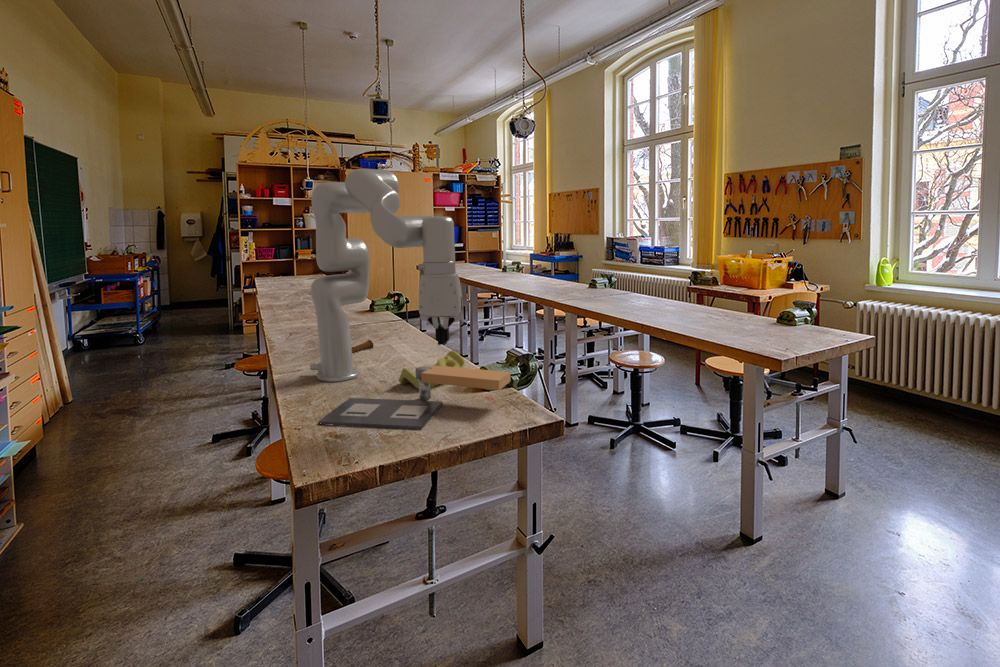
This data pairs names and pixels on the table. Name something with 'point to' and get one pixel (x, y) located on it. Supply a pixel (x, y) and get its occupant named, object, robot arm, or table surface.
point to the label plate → (385, 412)
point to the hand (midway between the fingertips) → (442, 343)
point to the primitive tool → (362, 346)
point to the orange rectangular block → (463, 377)
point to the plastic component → (449, 360)
